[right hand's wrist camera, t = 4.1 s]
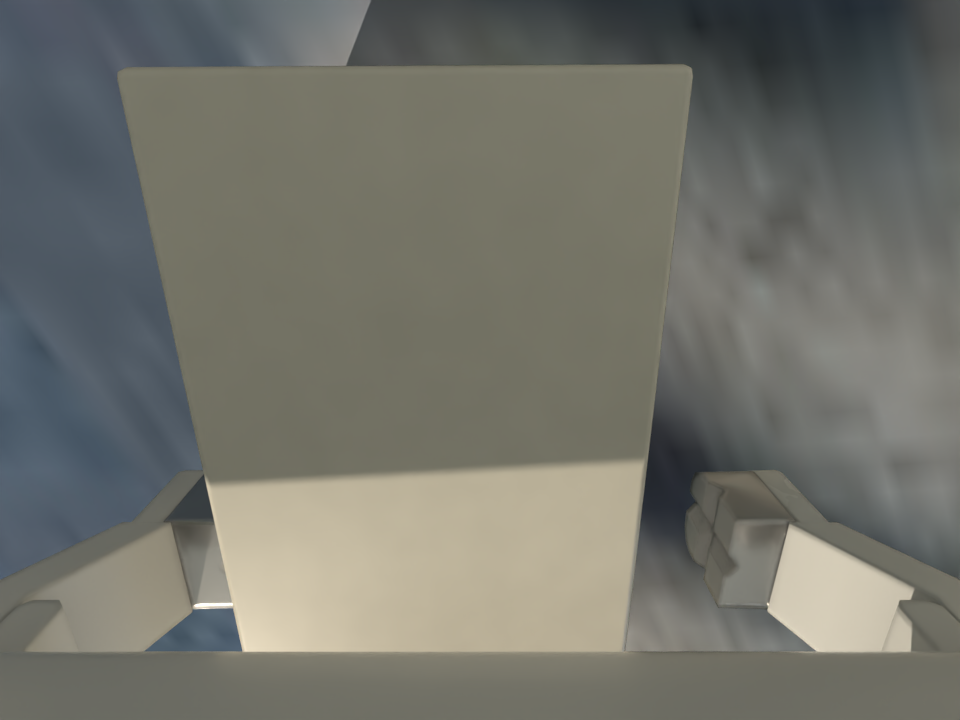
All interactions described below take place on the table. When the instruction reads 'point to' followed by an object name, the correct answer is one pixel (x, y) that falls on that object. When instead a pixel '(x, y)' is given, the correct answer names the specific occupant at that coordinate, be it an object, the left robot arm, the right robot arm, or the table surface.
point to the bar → (418, 338)
